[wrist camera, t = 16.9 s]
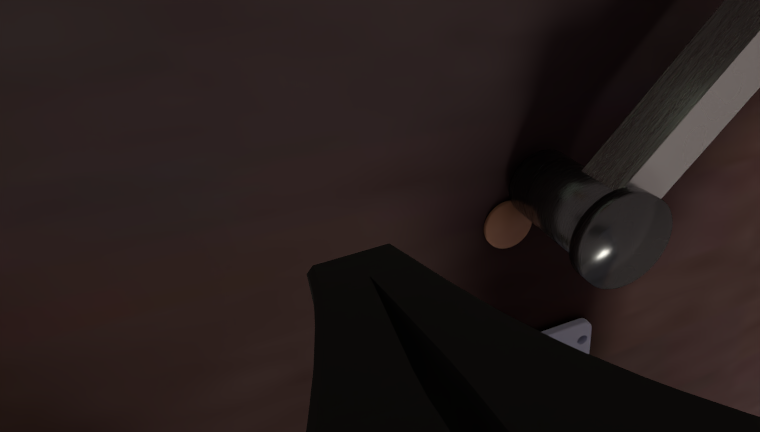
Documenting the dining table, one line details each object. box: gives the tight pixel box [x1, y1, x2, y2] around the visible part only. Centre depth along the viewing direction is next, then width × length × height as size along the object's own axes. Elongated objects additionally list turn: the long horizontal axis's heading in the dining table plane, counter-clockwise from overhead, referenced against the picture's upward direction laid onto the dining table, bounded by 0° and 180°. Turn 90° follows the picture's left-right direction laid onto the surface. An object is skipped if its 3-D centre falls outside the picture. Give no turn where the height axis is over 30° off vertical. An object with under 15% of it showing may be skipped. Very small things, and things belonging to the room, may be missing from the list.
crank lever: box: [509, 0, 760, 289], centre depth 17 cm, size 18×3×5 cm, turn 141°
